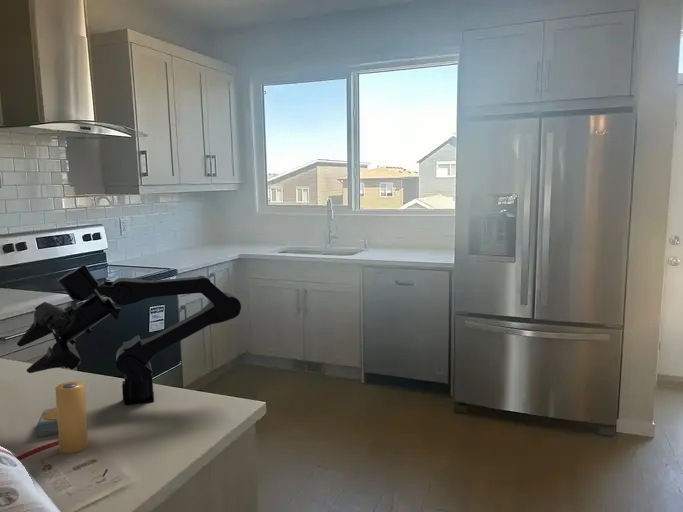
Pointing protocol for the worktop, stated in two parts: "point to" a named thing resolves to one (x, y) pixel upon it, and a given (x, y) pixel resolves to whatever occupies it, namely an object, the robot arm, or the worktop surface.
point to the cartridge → (71, 417)
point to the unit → (48, 423)
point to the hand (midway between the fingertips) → (22, 358)
